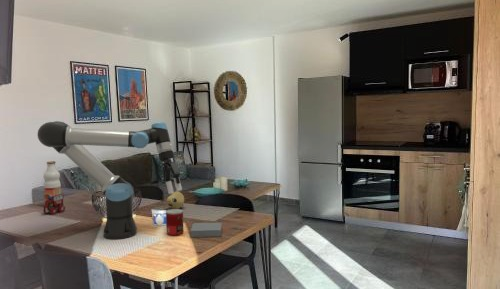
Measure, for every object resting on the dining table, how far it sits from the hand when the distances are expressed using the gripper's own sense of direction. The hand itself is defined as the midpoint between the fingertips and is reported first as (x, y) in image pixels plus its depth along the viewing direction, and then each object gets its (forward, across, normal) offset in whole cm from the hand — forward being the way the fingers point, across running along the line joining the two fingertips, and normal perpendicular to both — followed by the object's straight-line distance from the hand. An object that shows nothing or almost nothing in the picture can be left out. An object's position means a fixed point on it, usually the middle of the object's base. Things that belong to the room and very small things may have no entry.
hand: (175, 192), depth 185 cm
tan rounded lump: (+9, +36, -9) cm, 39 cm away
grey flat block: (+23, -12, -6) cm, 27 cm away
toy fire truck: (-8, +65, +52) cm, 84 cm away
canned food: (+20, -6, +7) cm, 21 cm away
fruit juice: (-14, +85, +51) cm, 100 cm away
